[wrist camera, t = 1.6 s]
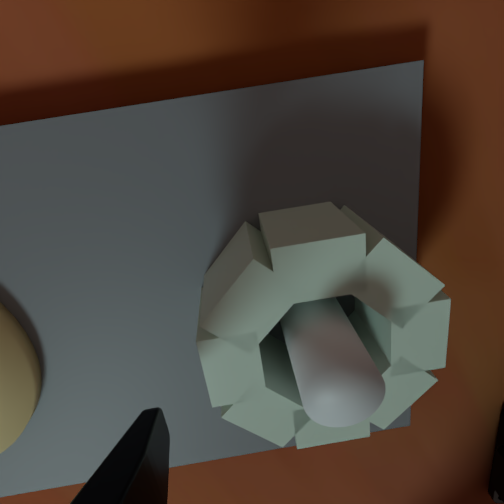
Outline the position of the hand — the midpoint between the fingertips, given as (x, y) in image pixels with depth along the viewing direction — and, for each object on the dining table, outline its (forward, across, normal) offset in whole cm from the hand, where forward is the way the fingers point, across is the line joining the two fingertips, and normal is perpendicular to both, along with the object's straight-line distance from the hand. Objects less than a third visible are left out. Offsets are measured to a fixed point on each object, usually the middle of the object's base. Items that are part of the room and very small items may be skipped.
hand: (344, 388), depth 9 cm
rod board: (+5, +7, 0) cm, 9 cm away
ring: (+4, 0, 0) cm, 4 cm away
